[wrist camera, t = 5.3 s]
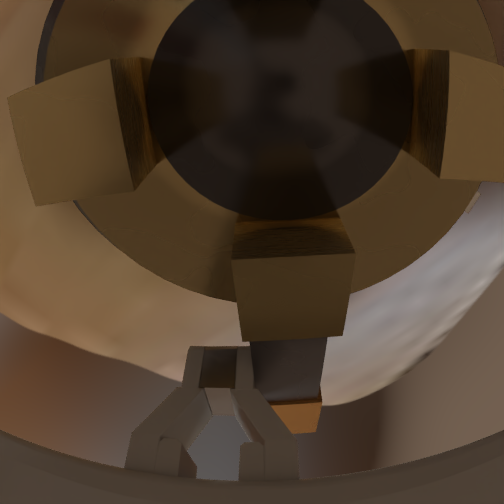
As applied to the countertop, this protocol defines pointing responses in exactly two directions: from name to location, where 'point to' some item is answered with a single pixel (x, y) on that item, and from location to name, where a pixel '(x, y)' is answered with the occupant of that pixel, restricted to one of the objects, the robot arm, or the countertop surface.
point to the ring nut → (268, 151)
